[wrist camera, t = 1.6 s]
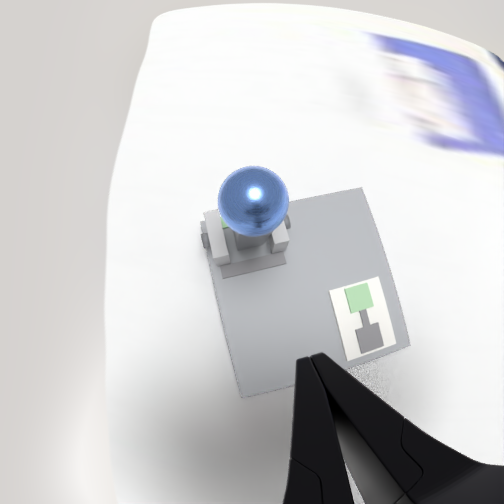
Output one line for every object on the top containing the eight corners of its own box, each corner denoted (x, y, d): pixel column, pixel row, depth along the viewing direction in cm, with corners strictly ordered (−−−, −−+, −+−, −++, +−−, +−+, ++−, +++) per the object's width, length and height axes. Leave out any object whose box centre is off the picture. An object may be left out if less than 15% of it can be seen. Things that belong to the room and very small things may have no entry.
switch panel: (404, 345, 22) (426, 345, 19) (242, 395, 21) (240, 405, 18) (357, 192, 25) (371, 172, 22) (202, 226, 24) (195, 208, 21)
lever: (272, 248, 22) (303, 221, 12) (230, 258, 22) (225, 239, 12) (262, 207, 22) (283, 148, 12) (220, 216, 22) (208, 164, 12)
